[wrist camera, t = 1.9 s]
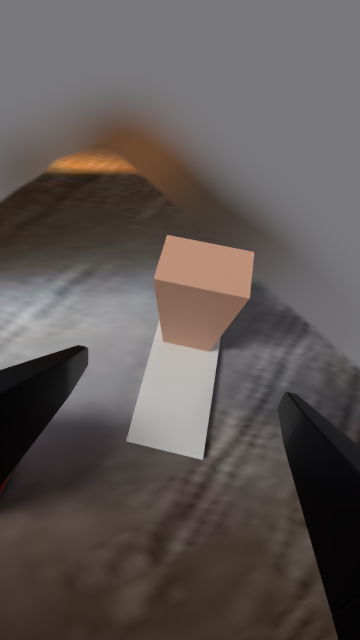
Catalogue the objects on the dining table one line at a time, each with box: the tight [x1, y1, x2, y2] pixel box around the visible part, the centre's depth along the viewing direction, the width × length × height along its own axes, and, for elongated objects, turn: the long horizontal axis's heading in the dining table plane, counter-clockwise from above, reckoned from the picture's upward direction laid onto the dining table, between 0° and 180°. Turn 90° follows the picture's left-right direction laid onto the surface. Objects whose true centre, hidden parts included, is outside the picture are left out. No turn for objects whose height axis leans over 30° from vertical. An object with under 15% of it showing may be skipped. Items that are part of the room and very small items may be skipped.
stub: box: [154, 235, 254, 352], centre depth 17 cm, size 3×5×12 cm, turn 78°
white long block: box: [126, 319, 221, 460], centre depth 19 cm, size 18×7×6 cm, turn 168°
